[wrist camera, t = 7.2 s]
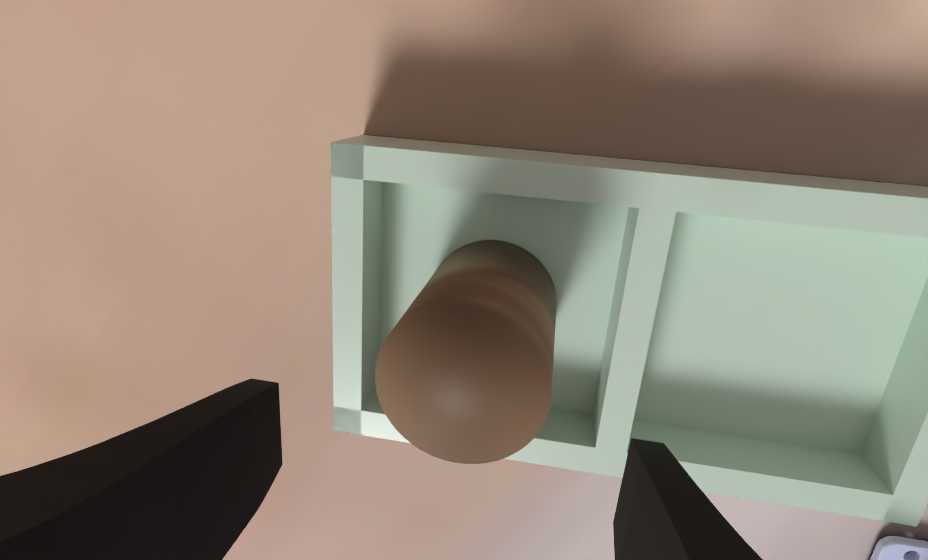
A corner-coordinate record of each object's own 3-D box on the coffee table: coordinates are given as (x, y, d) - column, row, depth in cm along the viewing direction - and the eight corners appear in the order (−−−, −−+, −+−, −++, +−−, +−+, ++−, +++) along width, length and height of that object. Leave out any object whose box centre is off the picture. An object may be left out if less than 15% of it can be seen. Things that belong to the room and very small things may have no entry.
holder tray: (978, 190, 16) (1058, 210, 14) (870, 468, 20) (917, 526, 17) (362, 134, 19) (331, 142, 16) (360, 390, 22) (333, 430, 20)
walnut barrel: (564, 248, 18) (563, 318, 12) (547, 367, 20) (539, 478, 14) (434, 232, 19) (376, 292, 13) (427, 348, 20) (373, 448, 15)
